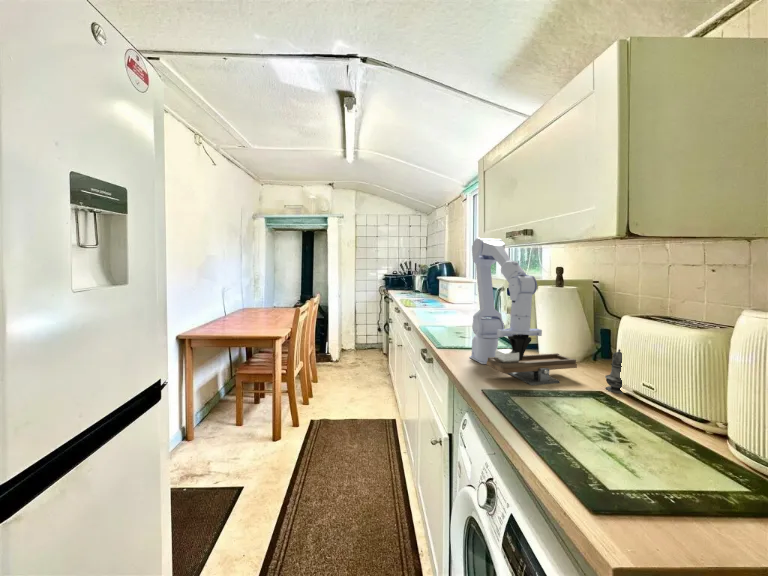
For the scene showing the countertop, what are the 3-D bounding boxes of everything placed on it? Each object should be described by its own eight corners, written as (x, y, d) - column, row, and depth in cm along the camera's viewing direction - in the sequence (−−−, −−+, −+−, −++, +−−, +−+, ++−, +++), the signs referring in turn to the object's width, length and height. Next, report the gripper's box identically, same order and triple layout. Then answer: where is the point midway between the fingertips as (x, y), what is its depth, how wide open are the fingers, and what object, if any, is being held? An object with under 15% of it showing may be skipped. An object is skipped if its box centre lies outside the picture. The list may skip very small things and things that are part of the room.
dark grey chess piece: (632, 395, 100) (636, 352, 99) (608, 393, 101) (612, 350, 100) (622, 388, 106) (626, 347, 105) (600, 386, 107) (603, 345, 106)
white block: (494, 362, 112) (495, 349, 112) (509, 361, 113) (509, 348, 113) (504, 366, 108) (504, 353, 107) (518, 365, 109) (519, 352, 109)
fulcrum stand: (503, 371, 118) (504, 358, 118) (529, 369, 121) (530, 356, 121) (531, 385, 105) (532, 370, 105) (560, 383, 108) (561, 369, 108)
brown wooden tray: (486, 364, 114) (486, 356, 114) (555, 360, 121) (556, 352, 121) (503, 373, 105) (503, 365, 105) (576, 367, 112) (577, 360, 112)
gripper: (508, 317, 105) (505, 364, 106) (550, 317, 109) (547, 361, 110) (494, 314, 111) (491, 357, 112) (534, 313, 115) (531, 355, 116)
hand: (518, 359), depth 111 cm, fingers closed
